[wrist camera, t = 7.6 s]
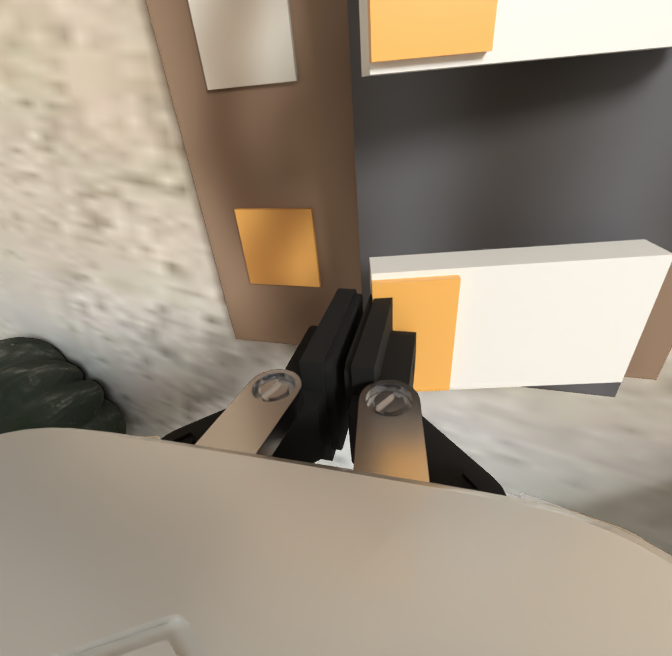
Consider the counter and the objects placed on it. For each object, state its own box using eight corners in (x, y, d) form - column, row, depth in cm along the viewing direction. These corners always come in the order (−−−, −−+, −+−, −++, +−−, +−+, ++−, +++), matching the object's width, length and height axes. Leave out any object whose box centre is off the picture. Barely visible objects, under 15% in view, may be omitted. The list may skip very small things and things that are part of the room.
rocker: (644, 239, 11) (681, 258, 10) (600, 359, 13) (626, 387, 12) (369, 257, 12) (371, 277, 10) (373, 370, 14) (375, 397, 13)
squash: (94, 525, 36) (-62, 648, 21) (-43, 442, 36) (-299, 506, 21) (179, 395, 37) (89, 423, 22) (47, 315, 37) (-133, 288, 22)
